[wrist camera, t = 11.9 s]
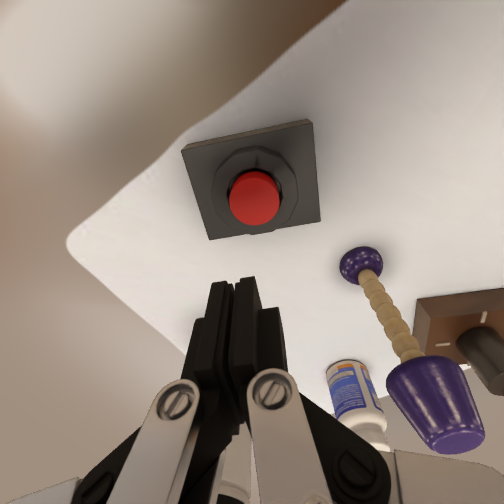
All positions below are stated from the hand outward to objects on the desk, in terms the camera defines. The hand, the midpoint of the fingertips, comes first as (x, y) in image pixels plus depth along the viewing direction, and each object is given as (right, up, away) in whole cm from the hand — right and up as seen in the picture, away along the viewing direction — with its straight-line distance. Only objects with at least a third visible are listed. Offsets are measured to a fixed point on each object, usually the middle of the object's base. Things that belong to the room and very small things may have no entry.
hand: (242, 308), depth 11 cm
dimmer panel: (+24, -6, +22) cm, 33 cm away
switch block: (+1, +9, +14) cm, 16 cm away
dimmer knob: (+24, -7, +19) cm, 32 cm away
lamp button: (+1, +7, +11) cm, 12 cm away
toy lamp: (+12, +1, +18) cm, 22 cm away
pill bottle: (+13, -14, +27) cm, 33 cm away
